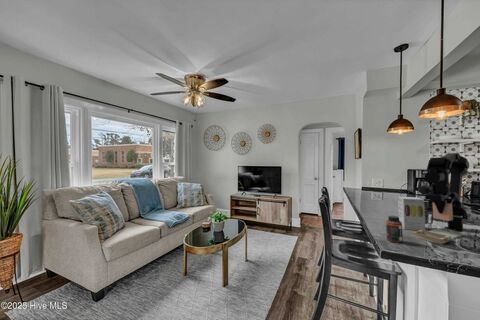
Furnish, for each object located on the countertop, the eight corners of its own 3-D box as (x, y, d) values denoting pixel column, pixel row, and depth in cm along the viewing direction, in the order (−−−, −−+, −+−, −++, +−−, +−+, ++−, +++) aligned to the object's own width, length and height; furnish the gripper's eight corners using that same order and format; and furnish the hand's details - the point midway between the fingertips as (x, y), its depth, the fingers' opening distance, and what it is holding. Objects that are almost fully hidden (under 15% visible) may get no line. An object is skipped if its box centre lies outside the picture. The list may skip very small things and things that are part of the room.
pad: (435, 230, 108) (435, 229, 108) (462, 235, 99) (462, 234, 99) (426, 233, 104) (426, 231, 104) (453, 239, 95) (452, 237, 95)
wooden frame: (421, 233, 103) (421, 229, 103) (451, 240, 93) (450, 236, 93) (411, 236, 99) (411, 232, 99) (441, 244, 89) (441, 239, 89)
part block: (437, 217, 105) (436, 201, 106) (453, 219, 100) (452, 203, 100) (433, 218, 104) (432, 202, 104) (449, 220, 98) (448, 204, 98)
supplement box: (404, 229, 111) (402, 198, 111) (398, 224, 119) (396, 196, 120) (426, 231, 107) (424, 199, 108) (418, 226, 115) (417, 196, 116)
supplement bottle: (406, 243, 90) (404, 218, 91) (390, 242, 91) (389, 217, 92) (398, 239, 96) (397, 215, 96) (384, 238, 97) (383, 214, 98)
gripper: (429, 180, 114) (431, 208, 113) (411, 182, 106) (413, 212, 105) (457, 181, 104) (459, 212, 103) (439, 183, 96) (441, 216, 95)
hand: (442, 212), depth 102 cm, fingers closed on part block, 4 cm apart
